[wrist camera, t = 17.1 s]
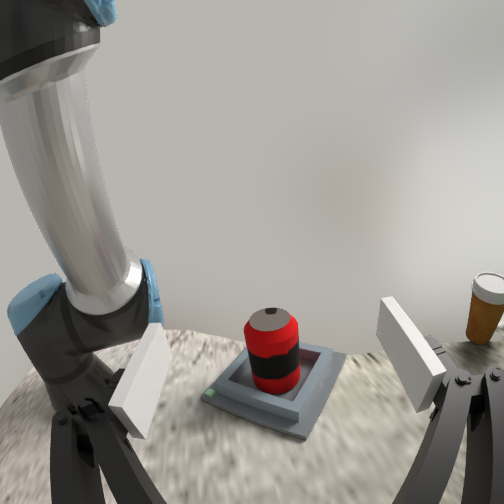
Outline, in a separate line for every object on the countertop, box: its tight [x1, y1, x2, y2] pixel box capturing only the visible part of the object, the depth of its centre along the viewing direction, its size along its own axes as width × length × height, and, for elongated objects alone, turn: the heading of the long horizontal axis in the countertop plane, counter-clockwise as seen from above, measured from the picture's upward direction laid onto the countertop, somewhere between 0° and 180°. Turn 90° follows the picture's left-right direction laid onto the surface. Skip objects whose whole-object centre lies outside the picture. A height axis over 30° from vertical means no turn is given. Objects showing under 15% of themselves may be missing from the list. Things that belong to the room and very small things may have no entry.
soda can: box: [244, 308, 300, 394], centre depth 39 cm, size 8×8×12 cm
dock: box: [201, 342, 346, 440], centre depth 41 cm, size 18×18×4 cm
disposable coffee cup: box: [466, 272, 504, 345], centre depth 36 cm, size 10×10×12 cm
